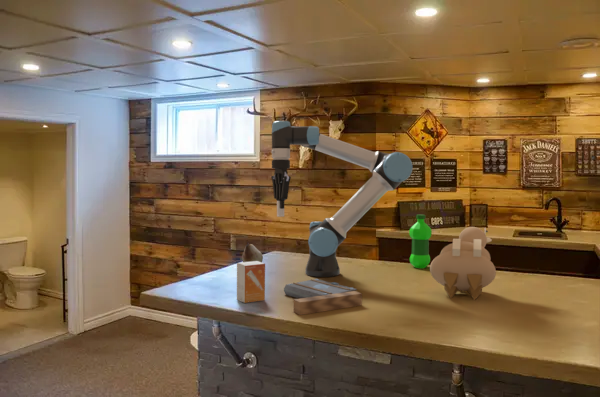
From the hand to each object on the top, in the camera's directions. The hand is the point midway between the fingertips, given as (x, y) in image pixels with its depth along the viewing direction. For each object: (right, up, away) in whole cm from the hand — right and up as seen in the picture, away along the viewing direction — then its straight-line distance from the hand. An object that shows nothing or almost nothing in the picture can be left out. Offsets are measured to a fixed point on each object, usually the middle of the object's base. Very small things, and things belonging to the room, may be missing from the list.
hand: (280, 216), depth 202 cm
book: (+15, -29, -27) cm, 42 cm away
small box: (-9, -28, -31) cm, 43 cm away
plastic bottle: (+65, -26, +30) cm, 76 cm away
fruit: (-14, -25, +26) cm, 39 cm away
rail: (+17, -29, -41) cm, 53 cm away
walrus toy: (+67, -28, -24) cm, 76 cm away
